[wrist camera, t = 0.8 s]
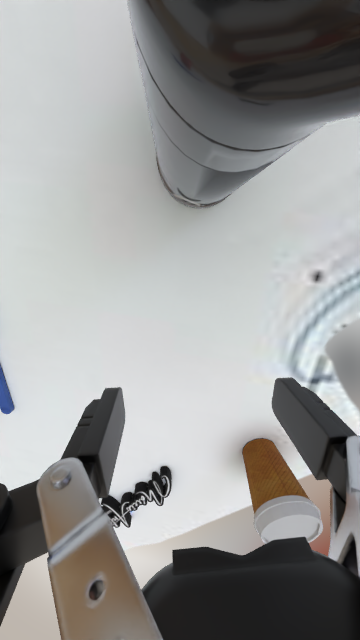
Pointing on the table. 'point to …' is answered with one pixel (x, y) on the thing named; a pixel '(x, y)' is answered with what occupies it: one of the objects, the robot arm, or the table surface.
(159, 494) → the nameplate
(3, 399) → the blue fork
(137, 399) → the table surface
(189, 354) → the table surface
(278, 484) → the disposable coffee cup
